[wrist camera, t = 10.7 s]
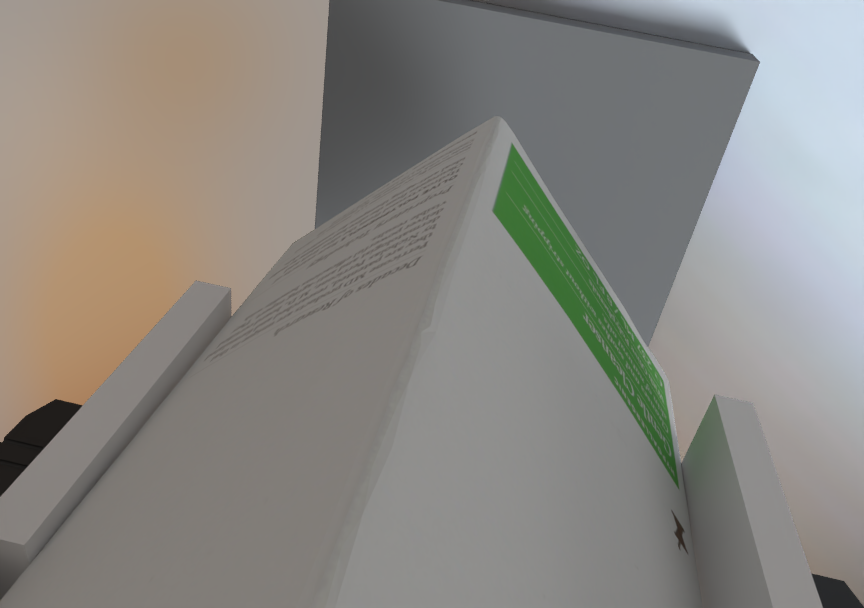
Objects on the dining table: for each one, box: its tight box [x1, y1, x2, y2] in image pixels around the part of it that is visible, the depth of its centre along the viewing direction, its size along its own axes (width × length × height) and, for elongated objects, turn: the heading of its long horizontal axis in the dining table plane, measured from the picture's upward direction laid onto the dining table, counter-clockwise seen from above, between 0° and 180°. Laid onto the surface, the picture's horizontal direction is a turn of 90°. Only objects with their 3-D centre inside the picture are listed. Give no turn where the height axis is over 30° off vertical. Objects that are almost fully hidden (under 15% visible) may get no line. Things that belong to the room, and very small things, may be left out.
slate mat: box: [315, 0, 760, 347], centre depth 23 cm, size 12×12×1 cm
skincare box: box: [0, 116, 703, 608], centre depth 11 cm, size 8×7×16 cm
